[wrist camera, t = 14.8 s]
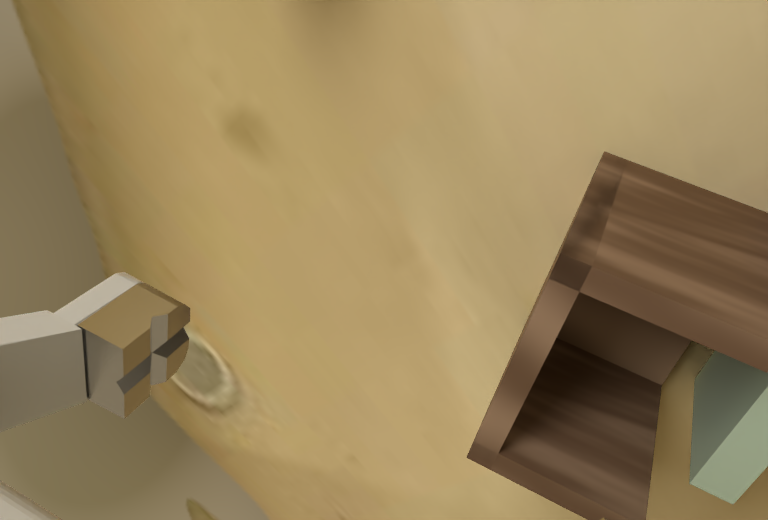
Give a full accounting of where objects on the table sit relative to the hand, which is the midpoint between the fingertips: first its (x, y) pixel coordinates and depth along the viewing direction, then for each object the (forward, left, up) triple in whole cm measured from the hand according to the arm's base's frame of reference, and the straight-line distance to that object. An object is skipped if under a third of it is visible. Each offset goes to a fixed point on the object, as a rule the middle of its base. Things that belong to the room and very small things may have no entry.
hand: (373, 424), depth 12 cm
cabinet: (+12, +10, -33) cm, 37 cm away
